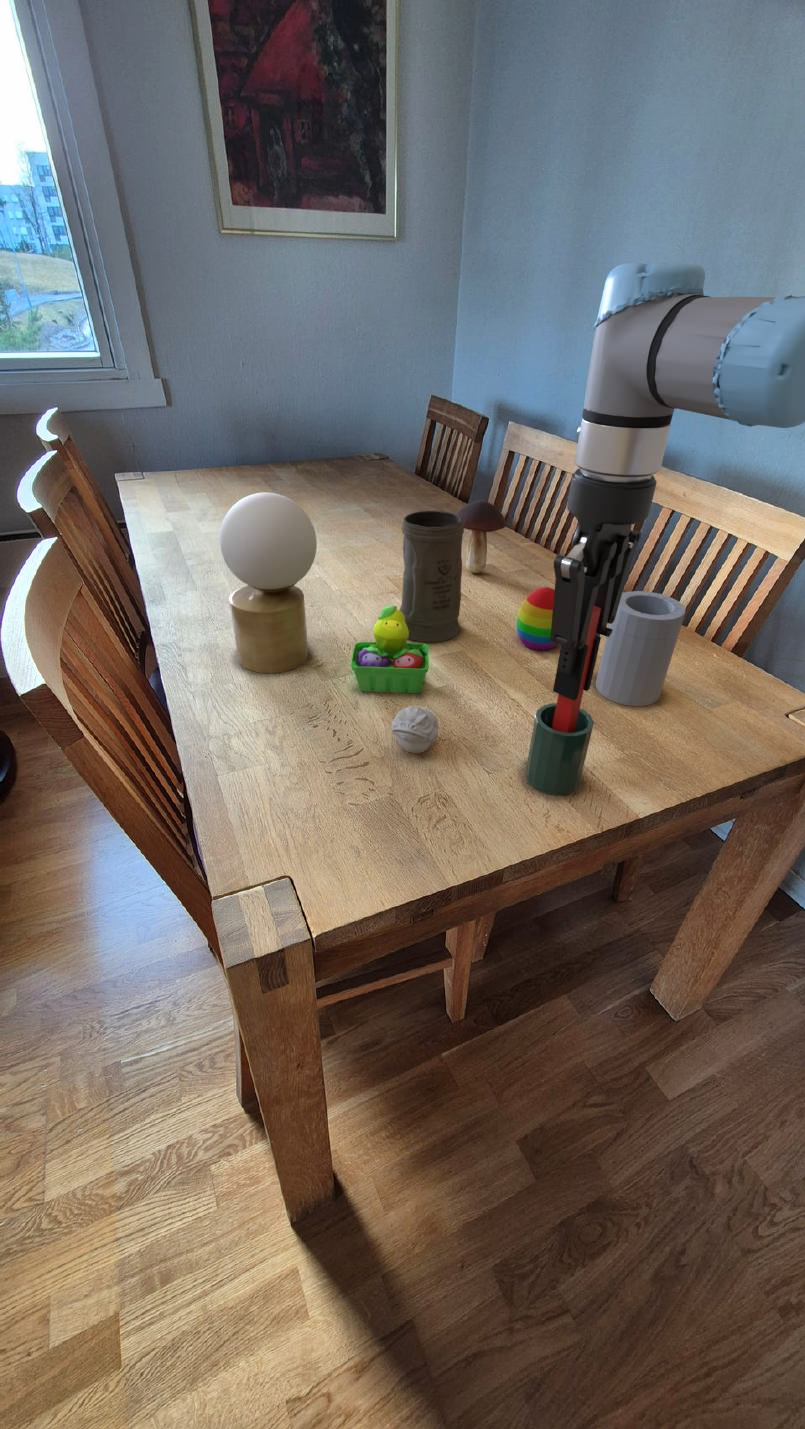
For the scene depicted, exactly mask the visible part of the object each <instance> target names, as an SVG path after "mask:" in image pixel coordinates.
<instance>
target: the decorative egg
mask: <svg viewBox="0 0 805 1429" xmlns="http://www.w3.org/2000/svg"><path fill="white" fill-rule="evenodd" d="M554 592H555V588H553V587H550V586H542V587H539V588H536V589H535V590H533V591H532V592H531V593H530V594H529V595H528V596H527V597H525V599H524V601H523V602H522V604H521V606H520V608H519V610H518V612H517V616H516V631H517V635H518V637H519V640H520V641H521V643H522V644H523V645H524V646H526V648H527V647H528V648H529V649H531V650H537V651H545V650H546V651H547V650H550V649H552V648H554V647H555V646H556V645H557V644H556V643H554V642H551V641H550V637H551V626H552V614H553V603H554Z"/></svg>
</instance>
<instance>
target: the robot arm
mask: <svg viewBox="0 0 805 1429" xmlns="http://www.w3.org/2000/svg"><path fill="white" fill-rule="evenodd" d="M705 280H706V271H705V269H704V267H703V266H702V265H700V264H696V263H680V262H679V263H677V262H676V263H675V262H672V263H671V262H669V263H668V262H653V263H643V262H640V263H639V262H637V263H636V262H634V263H633V262H631V263H622V264H619V265H617V266H615V267H614V268H613V269H612V270H610V272H609V273H608V274H607V277H606V279H605V282H604V287H603V292H602V296H601V300H600V304H599V309H598V314H597V317H596V322H594V325H593V331H594V336H593V337H594V338H593V343H592V344H593V345H592V348H591V356H590V363H589V369H588V374H587V375H588V376H587V382H586V389H585V393H584V394H585V395H584V402H583V409H582V414H581V423H580V426H579V427H578V428H577V430H576V434H577V436H578V441H577V446H576V451H575V452H576V453H575V458H574V463H575V465H576V466H577V467H578V468H577V469H576V470H575V471H574V472H573V473H572V474H571V479H570V485H569V492H568V499H567V504H566V509H567V511H568V512H569V513H570V514H571V516H574V518H575V519H576V520H577V526H576V529H575V532H574V534H573V538H572V540H571V550H570V551H569V553H568V554H567V555H566V556H565V555H561V554H557V555H556V556H555V558H554V561H553V571H554V577H555V580H554V590H555V592H554V603H553V614H552V626H551V637H550V641H551V642H554V643H556V645H559V646H560V650H559V656H558V660H557V666H556V672H555V677H554V683H553V689H552V692H553V693H556V694H560V695H562V696H565V697H567V698H569V699H571V700H576V699H577V698H578V694H579V689H580V684H581V679H582V674H583V670H584V665H585V660H586V655H587V650H588V645H585V640H586V636H587V632H588V628H589V624H590V620H591V616H592V612H593V608H594V606H596V607H599V608H601V611H600V615H599V620H598V625H597V629H596V634H595V639H594V643H593V648H592V653H591V657H590V662H589V667H588V672H587V676H586V681H585V686H584V690H583V691H585V692H587V691H589V690H590V689H591V686H592V681H593V677H594V673H595V672H594V671H595V668H596V662H597V658H598V653H599V649H600V643H601V639H602V637H601V636H604V637H605V638H606V637H609V636H610V635H611V633H612V631H613V629H610V628H608V625H609V624H612V623H613V622H614V620H615V617H616V613H617V610H618V606H619V603H620V599H621V596H622V593H624V589H625V586H626V582H627V578H628V576H629V575H628V574H629V571H630V568H631V565H632V561H633V557H634V555H635V552H636V550H637V548H638V546H639V543H640V540H641V538H642V532H640V531H636V530H633V529H632V525H636V524H639V523H641V522H643V521H644V522H645V520H647V519H648V518H649V515H650V513H651V508H652V504H653V499H654V495H655V491H656V487H657V484H658V482H657V480H656V477H655V476H654V475H655V474H657V473H658V472H660V471H661V469H662V466H663V461H664V457H665V456H664V455H665V452H666V448H667V443H668V438H669V434H670V430H671V425H672V419H673V416H674V412H675V409H676V410H681V411H688V412H691V413H696V414H701V415H706V416H710V417H715V418H719V419H724V420H729V421H733V422H737V423H738V425H741V426H745V427H750V428H752V427H755V426H763V427H771V428H780V429H789V428H794V427H798V426H801V425H803V424H805V296H804V295H803V296H793V295H792V294H791V295H782V296H709V295H705V294H704V286H705Z"/></svg>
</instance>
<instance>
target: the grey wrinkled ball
mask: <svg viewBox="0 0 805 1429" xmlns="http://www.w3.org/2000/svg"><path fill="white" fill-rule="evenodd" d="M390 727H391V728H390V729H391V733H392V734H393V735H394V737H395V741H396V742H397V743H398V745H399V746H400V747H401V748H402V749H403V750H404V751H406V752H408V753H411V754H420V753H423V752H425V751H427V750H428V749H430V747H431V746H432V745H433V744H434V742H435V741H436V739H437V738H438V737H439V722H438V719H437V716H435V714H434V713H433V712H432V711H431V710H430V709H428V708H427V707H424V706H419V705H418V706H415V705H409V706H408V707H404V708H403V709H400V710H399V711H398V712H397V714H396V715H395V717H394V718H393V720H392V723H391V726H390Z"/></svg>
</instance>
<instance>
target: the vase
mask: <svg viewBox="0 0 805 1429" xmlns="http://www.w3.org/2000/svg"><path fill="white" fill-rule="evenodd" d="M686 610H687V609H686V607H685V606H684V604H683V603H681V602H680V601H679V600H677V599H675V598H673V597H671V596H668V595H665V594H662V593H658V592H652V591H645V590H643V591H642V590H633V591H625V592H623V593H622V596H621V599H620V603H619V606H618V610H617V613H616V617H615V620H614V622H613V623H612V624H609V623H608V626H607V628H610V629H613V631H612V633H611V635H610V636H609V637H606V636H605V640H604V645H603V649H602V653H601V657H600V662H599V667H598V671H597V675H596V679H595V688H596V690H597V691H598V693H600V695H602V696H603V697H604V698H606V699H607V700H609V701H611V702H614V703H616V704H620V705H623V706H628V707H629V706H630V707H646V706H650V705H653V704H655V703H656V702H657V701H658V700H659V699H660V696H661V694H662V691H663V688H664V684H665V680H666V678H667V674H668V672H669V668H670V664H671V661H672V657H673V654H674V651H675V648H676V644H677V641H678V638H679V634H680V632H681V628H682V625H683V621H684V618H685V615H686Z"/></svg>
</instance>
